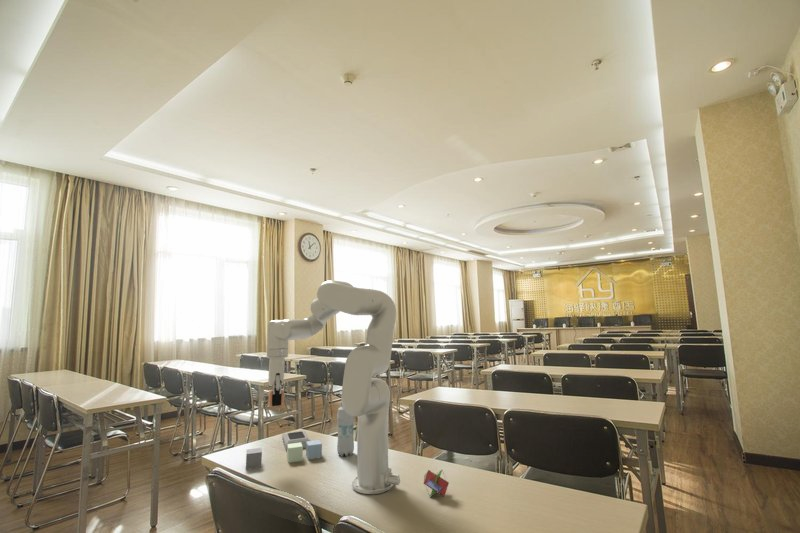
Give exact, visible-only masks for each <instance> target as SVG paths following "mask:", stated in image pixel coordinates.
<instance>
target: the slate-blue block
mask: <svg viewBox="0 0 800 533" xmlns="http://www.w3.org/2000/svg"><path fill="white" fill-rule="evenodd" d="M322 450H323V444H322V442H321V440H320V439H316V440H310V441H307V442H306V448H305V456H307V457H306V459H307V460H308V459H310V460H315V459H314V458H317V459H320V458H319V457H323V456H322V453H323V452H322Z"/></svg>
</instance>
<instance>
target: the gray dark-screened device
mask: <svg viewBox="0 0 800 533" xmlns="http://www.w3.org/2000/svg"><path fill="white" fill-rule="evenodd" d="M286 433H287V434H285V433H283V434H281V436H282V437H281V440H283V441H282V443H284V444H283V446H284V450H285V451H286V452H287V444H292V443H300V442H301V443H302V446H303V449H306V442H307V441H311V440H310V438H309V436H308V435H307V434H308V433H306V431H304V430H299V431H289V432H286Z"/></svg>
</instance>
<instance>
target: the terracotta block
mask: <svg viewBox="0 0 800 533" xmlns="http://www.w3.org/2000/svg"><path fill="white" fill-rule="evenodd" d="M272 394H273V390H272V389H271V390H270V389H269V390H268V407H269V408H272V407H276V406H272ZM281 394H282V397H281V405H280V406H279V407H283V406H284V405H285V404H284V402H285V400H284V399H285V392H284V389H283V388H281Z"/></svg>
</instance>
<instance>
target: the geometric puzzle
mask: <svg viewBox="0 0 800 533" xmlns="http://www.w3.org/2000/svg"><path fill="white" fill-rule="evenodd" d="M442 473H443V476H444V478H442V477H441V475H442ZM423 475H424V476H423V485H424V486H425V487H426V489H425V490H426V491H428V488H430V489H431V490H432V491H431V493H430V494H429V497H430V496H431V495H432V496H431V497H434V496H435V495H436V493H437V492H438V493H437V494H439V493H440V494H439V495H441V496H442V495H443V496H442V497H444V496H446V493H447V490H448V487H449V484H450V482H449V481H447V478H446V475H445V473H444V471H443V469H440V470H439V471H438V472H437V473H435V472H432V470H429V469H428V470H427V471H426V473H425V474H423ZM427 487H428V488H427Z"/></svg>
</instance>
